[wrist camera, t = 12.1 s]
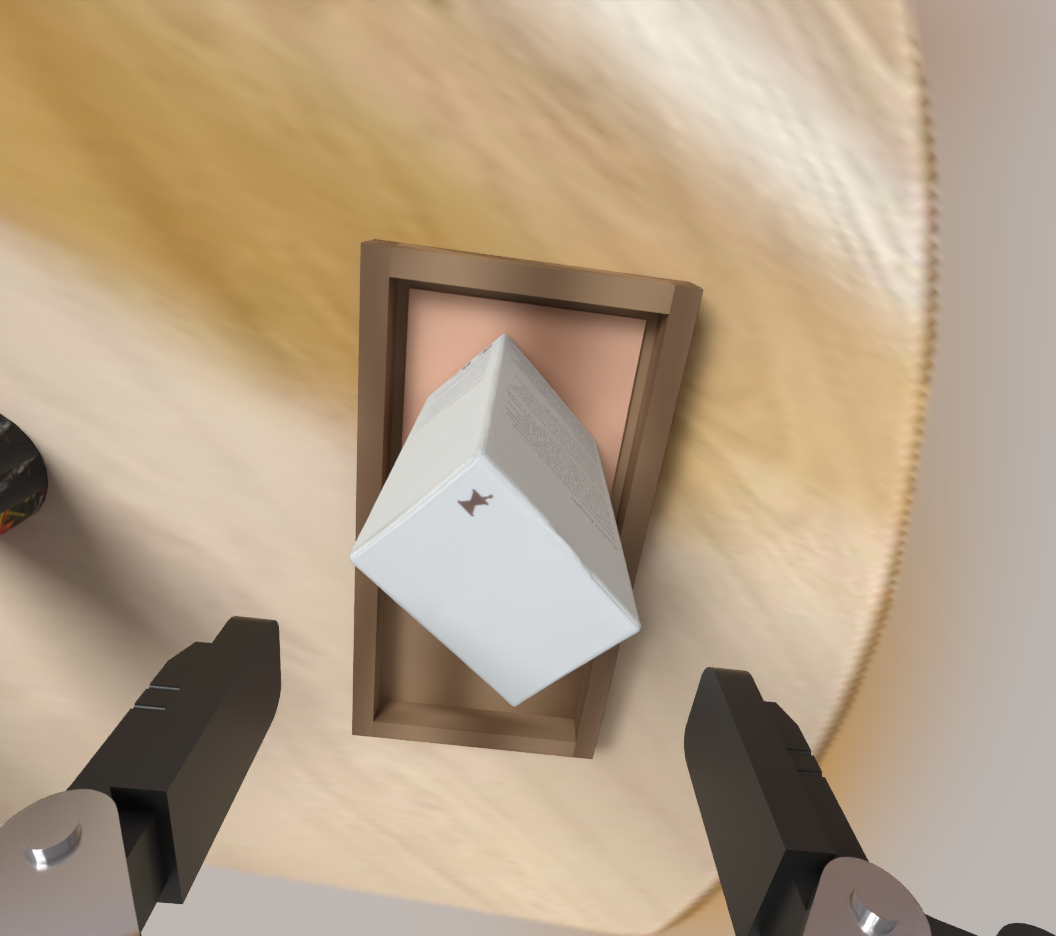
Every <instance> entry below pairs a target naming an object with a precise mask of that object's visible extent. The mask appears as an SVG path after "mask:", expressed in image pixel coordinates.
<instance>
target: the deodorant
mask: <svg viewBox="0 0 1056 936" xmlns="http://www.w3.org/2000/svg"><path fill="white" fill-rule="evenodd" d="M47 488H48V482H47V473H46V468H45V466H44V463H43V461H42V458H41V456H40V453H39V452H38V451H37V449H36V448H35V446H34V445H33V443H32V442H31V440H30V439H29V438H28V437H27V436H26V435H25V434H24V433H23V432H22V431H21V430H20V429H19V428H18V427H17V426H16V425H15V424H14V423H13V422H11V421H10V420H8V419H7V418H5V417H4V416H2V415H1V414H0V535H2V534H3V533H5V532H7V531H8V530H10V529H11V528H13V527H14V526H16V525H18V524H19V523H21V522H22V521H24V520H26V519H27V518H28V517H30V516H31V515H33V514H34V513H36V512H37V511H38V509H39V508H40V506H41V505H42V503H43V502H44V500H45V497H46V492H47Z"/></svg>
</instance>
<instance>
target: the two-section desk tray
mask: <svg viewBox="0 0 1056 936" xmlns="http://www.w3.org/2000/svg"><path fill="white" fill-rule="evenodd" d="M702 293H703V289H702V288H700V287H698V286H696V285H694V284H692V283H690V282H684V281H677V280H670V279H662V278H655V277H648V276H640V275H633V274H626V273H618V272H611V271H603V270H596V269H589V268H581V267H574V266H567V265H559V264H552V263H545V262H537V261H530V260H523V259H515V258H508V257H501V256H493V255H486V254H479V253H471V252H464V251H457V250H449V249H442V248H434V247H427V246H420V245H412V244H405V243H398V242H390V241H383V240H376V239H374V240H370V241H366V242H362V243H361V263H360V320H359V377H358V434H357V490H356V541H357V539H358V537H359V534H360V532H361V530H362V529H363V527H364V525H365V523H366V521H367V519H368V517H369V515H370V513H371V511H372V509H373V506H374V504H375V502H376V500H377V499H378V497H379V494H380V492H381V491H382V488H383V486H384V484H385V482H386V480H387V479H388V477H389V475H390V473H391V471H392V468H393V467H394V465H395V462H396V460H397V458H398V456H399V454H400V452H401V450H402V448H403V446H404V444H405V442H406V440H407V438H408V436H409V434H410V432H411V430H412V428H413V426H414V424H415V422H416V420H417V418H418V416H419V414H420V412H421V410H422V409H423V406H424V404H425V402H426V400H427V398H428V397H429V395H431V394H432V393H433V392H434V391H436V390H437V389H438V388H439V387H440V386H442V385H443V384H444V383H445V382H446V381H448V380H449V379H450V378H451V377H452V376H453V375H455V374H456V373H457V372H458V371H459V370H460V369H461V368H463V367H464V366H465V365H466V364H467V363H468V362H470V361H471V360H472V359H473V358H474V357H476V356H477V355H478V354H479V353H481V352H482V351H483V350H484V349H486V348H487V347H488V346H489V345H490V344H492V343H493V342H494V341H495V340H496V339H498V338H499V337H500V336H501V335H502V334H504V333H506V334H507V335H508V336H509V337H510V338H511V339H512V341H513V342H514V343H515V344H516V345H517V347H518V348H519V349H520V350H521V351H522V353H523V354H524V355H525V356H526V357H527V359H528V360H529V361H530V362H531V363H532V364H533V366H534V367H535V368H536V369H537V370H538V372H539V373H540V374H541V375H542V376H543V378H544V379H545V380H546V381H547V382H548V384H549V385H550V386H551V387H552V388H553V390H554V391H555V392H556V393H557V394H558V396H559V397H560V398H561V399H562V401H563V402H564V403H565V404H566V405H567V406H568V408H569V409H570V410H571V411H572V412H573V414H574V415H575V416H576V417H577V418H578V420H579V421H580V422H581V423H582V424H583V426H584V427H585V428H586V429H587V431H588V432H589V433H590V434H591V435H592V437H593V438H594V439H595V440H596V443H597V447H598V451H599V455H600V459H601V464H602V468H603V472H604V476H605V480H606V484H607V488H608V492H609V496H610V501H611V505H612V509H613V512H614V516H615V521H616V525H617V529H618V533H619V537H620V541H621V545H622V549H623V554H624V558H625V561H626V566H627V570H628V574H629V578H630V582H631V587H632V589H633V585H634V581H635V577H636V572H637V568H638V564H639V560H640V555H641V551H642V547H643V543H644V538H645V534H646V530H647V526H648V521H649V517H650V513H651V509H652V505H653V500H654V496H655V492H656V488H657V483H658V479H659V475H660V471H661V466H662V462H663V458H664V454H665V449H666V445H667V441H668V437H669V432H670V428H671V424H672V420H673V416H674V411H675V407H676V403H677V399H678V394H679V390H680V386H681V382H682V377H683V373H684V369H685V365H686V360H687V356H688V352H689V348H690V343H691V339H692V335H693V331H694V327H695V322H696V318H697V314H698V310H699V305H700V301H701V297H702ZM619 644H620V643H619ZM619 644H617V645H616V646H614V647H612V648H611V649H609V650H607V651H605V652H604V653H602V654H600V655H599V656H597V657H595V658H594V659H592V660H590V661H589V662H587V663H585V664H584V665H582V666H580V667H579V668H577V669H575V670H573V671H572V672H570V673H568V674H567V675H565V676H563V677H562V678H560V679H558V680H557V681H555V682H554V683H552V684H550V685H549V686H547V687H546V688H544V689H542V690H541V691H539V692H538V693H536V694H534V695H533V696H531V697H530V698H528V699H526V700H525V701H523V702H522V703H520V704H519V705H517V706H515V707H514V706H512V705H510V704H509V703H508V702H507V701H506V700H505V699H504V698H503V697H502V696H501V695H500V694H499V693H497V692H496V691H495V690H494V689H493V688H492V687H491V686H490V685H489V684H488V683H486V682H485V681H484V680H483V679H482V678H481V677H480V676H479V675H477V674H476V673H475V672H474V671H473V670H472V669H471V668H470V667H469V666H467V665H466V664H465V663H464V662H463V661H462V660H461V659H460V658H459V657H458V656H456V655H455V654H454V653H453V652H452V651H451V650H450V649H448V648H447V647H446V646H445V645H444V644H443V643H442V642H441V641H439V640H438V639H437V638H436V637H435V636H434V635H433V634H431V633H430V632H429V631H428V630H427V629H426V628H425V627H423V626H422V625H421V624H420V623H419V622H418V621H417V620H416V619H414V618H413V617H412V616H411V615H410V614H409V613H408V612H407V611H405V610H404V609H403V608H402V607H401V606H400V605H399V604H397V603H396V602H395V601H394V600H393V599H392V598H391V597H390V596H389V595H388V594H386V593H385V592H384V591H383V590H382V589H381V588H380V587H379V586H377V585H376V584H375V583H374V582H373V581H372V580H371V579H370V578H369V577H367V576H366V575H365V574H364V573H363V572H362V571H361V570H360V569H358V568H357V567H356V566H355V604H354V661H353V717H352V735H360V736H370V737H380V738H390V739H400V740H409V741H419V742H429V743H439V744H449V745H459V746H468V747H478V748H488V749H498V750H508V751H518V752H527V753H537V754H547V755H557V756H567V757H577V758H586V759H593V755H594V750H595V746H596V742H597V738H598V733H599V729H600V725H601V721H602V716H603V712H604V708H605V704H606V699H607V695H608V691H609V687H610V683H611V678H612V674H613V670H614V666H615V661H616V657H617V653H618V649H619Z"/></svg>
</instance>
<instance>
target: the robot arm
mask: <svg viewBox="0 0 1056 936" xmlns="http://www.w3.org/2000/svg"><path fill="white" fill-rule="evenodd" d="M280 691H281V670H280V641H279V626H278V623H277V621H275V620H268V619H258V618H249V617H239V616H233V617H231V618H230V619H229V620H228V622H227V623H226V624H225V626H224V627H223V628H222V630H221V631H220V633H219V634H218V635H217V637H216V638H215V640H214V641H213V642H212V643H204V642H195V643H193V644H192V645H190V646H189V647H188V648H186V649H185V650H183V651H182V652H180V653H179V654H177V655H176V656H174V657H173V658H171V659H170V660H168V662H167V663H166V664H165V666H164V667H163V668H162V669H161V671H160V672H159V673H158V674H157V676H156V677H155V678H154V680H153V681H152V682H151V683H150V687H149V689H146V690H145V691H144V692H143V694H142V695H141V696H140V697H139V699H138V700H137V701H136V703H135V706H134V708H133V709H130V710H129V712H128V713H127V714H126V715H125V717H124V718H123V719H122V720H121V722H120V723H119V724H118V726H117V727H116V728H115V729H114V731H113V732H112V733H111V735H110V736H109V737H108V738H107V740H106V741H105V742H104V743H103V745H102V746H101V747H100V749H99V750H98V751H97V752H96V754H95V755H94V756H93V758H92V759H91V760H90V761H89V763H88V764H87V765H86V766H85V768H84V769H83V770H82V772H81V773H80V774H79V775H78V777H77V778H76V779H75V781H74V782H73V783H72V784H71V786H70V787H69V788H68V789H67V790H66V791H64V792H60V793H57V794H54V795H50V796H48V797H46V798H43V799H41V800H39V801H37V802H35V803H33V804H31V805H29V806H28V807H26V808H25V809H23V810H22V811H20V812H19V813H17V814H16V815H15V816H13V817H12V818H11V819H10V820H8V821H7V822H6V823H5V824H4V825H3V826H2V827H1V828H0V936H141V931H142V929H143V927H144V926H145V924H146V922H147V920H148V918H149V916H150V914H151V912H152V910H153V909H154V907H155V905H156V903H157V902H162V903H174V904H183V902H184V900H185V898H186V896H187V894H188V892H189V890H190V888H191V886H192V884H193V882H194V880H195V878H196V876H197V874H198V872H199V870H200V868H201V866H202V864H203V862H204V860H205V858H206V856H207V854H208V851H209V849H210V847H211V845H212V843H213V841H214V839H215V837H216V835H217V833H218V831H219V829H220V827H221V825H222V823H223V821H224V819H225V817H226V815H227V813H228V811H229V809H230V807H231V805H232V803H233V800H234V798H235V796H236V794H237V792H238V790H239V788H240V786H241V784H242V782H243V780H244V778H245V776H246V774H247V772H248V770H249V768H250V766H251V764H252V762H253V760H254V758H255V756H256V754H257V752H258V749H259V747H260V745H261V743H262V741H263V739H264V737H265V735H266V733H267V731H268V729H269V727H270V725H271V723H272V721H273V719H274V716H275V713H276V710H277V707H278V703H279V698H280ZM684 751H685V758H686V763H687V766H688V770H689V773H690V777H691V780H692V784H693V787H694V791H695V794H696V798H697V801H698V805H699V809H700V812H701V816H702V819H703V823H704V826H705V830H706V833H707V837H708V840H709V844H710V847H711V851H712V854H713V858H714V861H715V865H716V868H717V872H718V875H719V879H720V882H721V886H722V889H723V893H724V896H725V899H726V903H727V907H728V910H729V913H730V917H731V921H732V924H733V928H734V931H735V935H736V936H977V935H975V934H972V933H970V932H967V931H965V930H962V929H960V928H957V927H955V926H952V925H950V924H947V923H945V922H942V921H940V920H937V919H935V918H933V917H930V916H928V915H926V914H924V912H923V910H922V908H921V907H920V905H919V904H918V902H917V901H916V899H915V898H914V897H913V895H912V894H911V893H910V892H909V891H908V890H907V889H906V888H905V887H904V886H903V885H902V884H901V883H900V882H899V881H898V880H897V879H896V878H894V877H893V876H892V875H891V874H889V873H888V872H886V871H885V870H883V869H882V868H880V867H878V866H876V865H875V864H873V863H870V862H869V861H868V859H867V858H866V856H865V854H864V852H863V850H862V848H861V846H860V844H859V842H858V840H857V838H856V836H855V834H854V833H853V831H852V829H851V827H850V825H849V823H848V821H847V819H846V817H845V815H844V813H843V811H842V809H841V807H840V806H839V804H838V802H837V800H836V798H835V796H834V794H833V792H832V790H831V788H830V786H829V784H828V783H827V780H826V779H825V777H822V771H821V769H820V767H819V765H818V763H817V761H816V759H815V757H814V756H811V750H810V748H809V746H808V744H807V742H806V740H805V738H804V736H803V734H802V732H801V730H800V728H799V727H798V725H797V724H796V723H795V722H794V721H793V720H792V719H791V718H790V717H789V716H788V715H787V714H786V713H785V712H784V711H783V709H782V708H781V707H780V706H779V705H778V704H777V703H775V702H766V701H763V698H762V696H761V694H760V692H759V690H758V688H757V686H756V684H755V682H754V680H753V678H752V676H751V674H750V673H749V672H747V671H741V670H732V669H722V668H713V667H707V668H706V669H705V670H704V672H703V674H702V676H701V680H700V683H699V686H698V689H697V692H696V696H695V699H694V702H693V705H692V708H691V712H690V715H689V718H688V721H687V724H686V729H685V736H684ZM996 936H1055V935H1053V934H1051V933H1049V932H1047V931H1045V930H1043V929H1041V928H1038V927H1035V926H1032V925H1028V924H1024V923H1012V924H1008V925H1006V926H1004V927H1003V928H1002V929H1001V930H1000V931H999V932H998V934H997V935H996Z"/></svg>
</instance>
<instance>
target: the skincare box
mask: <svg viewBox="0 0 1056 936" xmlns="http://www.w3.org/2000/svg"><path fill="white" fill-rule="evenodd" d="M350 561H351V563H352V564H354V565H355V566H356V567H357V568H358V569H360V570H361V571H362V572H363V573H364V574H365V575H366V576H367V577H369V578H370V579H371V580H372V581H373V582H374V583H375V584H376V585H377V586H379V587H380V588H381V589H382V590H383V591H384V592H385V593H386V594H388V595H389V596H390V597H391V598H392V599H393V600H394V601H395V602H396V603H397V604H399V605H400V606H401V607H402V608H403V609H404V610H405V611H407V612H408V613H409V614H410V615H411V616H412V617H413V618H414V619H416V620H417V621H418V622H419V623H420V624H421V625H422V626H423V627H425V628H426V629H427V630H428V631H429V632H430V633H431V634H433V635H434V636H435V637H436V638H437V639H438V640H439V641H441V642H442V643H443V644H444V645H445V646H446V647H447V648H448V649H450V650H451V651H452V652H453V653H454V654H455V655H456V656H458V657H459V658H460V659H461V660H462V661H463V662H464V663H465V664H466V665H467V666H469V667H470V668H471V669H472V670H473V671H474V672H475V673H476V674H477V675H479V676H480V677H481V678H482V679H483V680H484V681H485V682H486V683H488V684H489V685H490V686H491V687H492V688H493V689H494V690H495V691H496V692H497V693H499V694H500V695H501V696H502V697H503V698H504V699H505V700H506V701H507V702H508V703H509V704H510V705H512V706H514V707H515V706H517V705H519V704H520V703H522V702H523V701H525V700H526V699H528V698H530V697H531V696H533V695H534V694H536V693H538V692H539V691H541V690H542V689H544V688H546V687H547V686H549V685H550V684H552V683H554V682H555V681H557V680H558V679H560V678H562V677H563V676H565V675H567V674H568V673H570V672H572V671H573V670H575V669H577V668H579V667H580V666H582V665H584V664H585V663H587V662H589V661H590V660H592V659H594V658H595V657H597V656H599V655H600V654H602V653H604V652H605V651H607V650H609V649H611V648H612V647H614V646H616V645H617V644H619V643H621V642H623V641H624V640H626V639H628V638H630V637H632V636H633V635H635V634H637V633H638V632H639V631H640V629H641V623H640V619H639V615H638V612H637V608H636V604H635V599H634V595H633V591H632V587H631V582H630V578H629V574H628V570H627V566H626V561H625V558H624V554H623V549H622V545H621V541H620V537H619V533H618V529H617V525H616V521H615V516H614V512H613V509H612V505H611V501H610V496H609V492H608V488H607V484H606V480H605V476H604V472H603V468H602V464H601V459H600V455H599V451H598V447H597V443H596V440H595V439H594V438H593V437H592V435H591V434H590V433H589V432H588V431H587V429H586V428H585V427H584V426H583V424H582V423H581V422H580V421H579V420H578V418H577V417H576V416H575V415H574V414H573V412H572V411H571V410H570V409H569V408H568V406H567V405H566V404H565V403H564V402H563V401H562V399H561V398H560V397H559V396H558V394H557V393H556V392H555V391H554V390H553V388H552V387H551V386H550V385H549V384H548V382H547V381H546V380H545V379H544V378H543V376H542V375H541V374H540V373H539V372H538V370H537V369H536V368H535V367H534V366H533V364H532V363H531V362H530V361H529V360H528V359H527V357H526V356H525V355H524V354H523V353H522V351H521V350H520V349H519V348H518V347H517V345H516V344H515V343H514V342H513V341H512V339H511V338H510V337H509V336H508V335H507V334H506V333H504V334H502V335H501V336H500V337H499V338H498V339H496V340H495V341H494V342H493V343H492V344H490V345H489V346H488V347H487V348H486V349H484V350H483V351H482V352H481V353H479V354H478V355H477V356H476V357H474V358H473V359H472V360H471V361H470V362H468V363H467V364H466V365H465V366H464V367H463V368H461V369H460V370H459V371H458V372H457V373H456V374H455V375H453V376H452V377H451V378H450V379H449V380H448V381H446V382H445V383H444V384H443V385H442V386H440V387H439V388H438V389H437V390H436V391H434V392H433V393H432V394H431V395H429V397H428V398H427V400H426V402H425V404H424V406H423V409H422V410H421V412H420V414H419V416H418V418H417V420H416V422H415V424H414V426H413V428H412V430H411V432H410V434H409V436H408V438H407V440H406V442H405V444H404V446H403V448H402V450H401V452H400V454H399V456H398V458H397V460H396V462H395V465H394V467H393V468H392V471H391V473H390V475H389V477H388V479H387V480H386V482H385V484H384V486H383V488H382V491H381V492H380V494H379V497H378V499H377V500H376V502H375V504H374V506H373V509H372V511H371V513H370V515H369V517H368V519H367V521H366V523H365V525H364V527H363V529H362V530H361V532H360V534H359V537H358V539H357V541H356V542H355V544H354V546H353V549H352V551H351V553H350Z"/></svg>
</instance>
